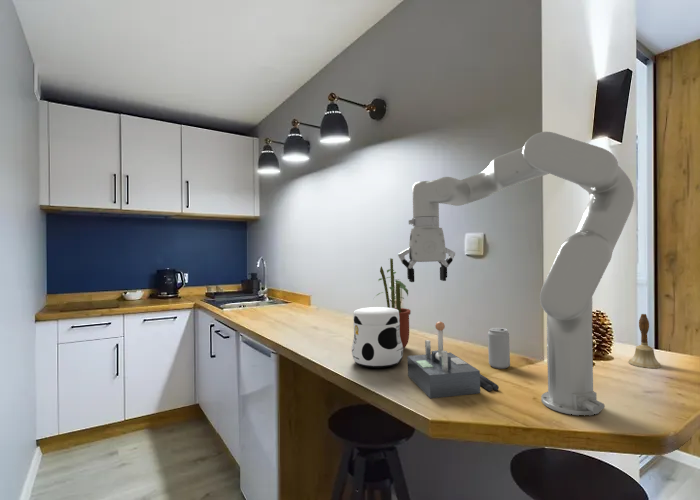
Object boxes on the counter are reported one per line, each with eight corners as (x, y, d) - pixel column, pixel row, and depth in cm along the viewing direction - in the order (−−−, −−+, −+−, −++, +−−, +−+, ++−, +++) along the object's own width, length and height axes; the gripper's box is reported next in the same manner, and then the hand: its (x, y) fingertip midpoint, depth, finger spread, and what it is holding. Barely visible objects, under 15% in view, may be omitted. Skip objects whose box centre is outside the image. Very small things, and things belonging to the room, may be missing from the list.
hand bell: (667, 369, 116) (666, 316, 116) (636, 368, 118) (635, 316, 118) (652, 361, 124) (651, 311, 124) (623, 360, 126) (622, 311, 126)
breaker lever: (448, 362, 108) (447, 322, 107) (439, 363, 107) (438, 323, 107) (442, 358, 111) (441, 320, 111) (433, 359, 111) (432, 320, 111)
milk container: (344, 360, 135) (343, 309, 135) (389, 354, 141) (387, 305, 141) (364, 375, 119) (362, 317, 118) (413, 367, 125) (411, 312, 125)
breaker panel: (480, 393, 102) (479, 351, 102) (430, 398, 99) (429, 356, 99) (451, 371, 119) (450, 336, 119) (407, 375, 117) (406, 339, 117)
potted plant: (411, 354, 139) (409, 258, 139) (369, 353, 142) (366, 259, 141) (411, 342, 157) (409, 256, 156) (373, 341, 159) (371, 257, 159)
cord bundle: (499, 390, 103) (499, 385, 103) (488, 392, 102) (488, 386, 102) (468, 370, 120) (468, 365, 120) (458, 371, 120) (458, 366, 120)
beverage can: (512, 369, 120) (511, 331, 119) (490, 369, 121) (489, 331, 121) (507, 363, 126) (506, 327, 126) (487, 362, 127) (486, 326, 127)
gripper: (401, 223, 109) (402, 283, 109) (459, 222, 111) (460, 281, 111) (394, 224, 116) (395, 281, 116) (449, 223, 119) (450, 279, 119)
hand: (427, 281), depth 114 cm, fingers open, 9 cm apart
